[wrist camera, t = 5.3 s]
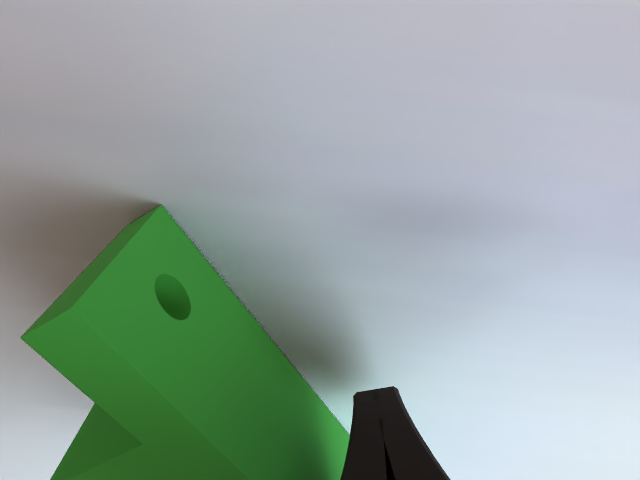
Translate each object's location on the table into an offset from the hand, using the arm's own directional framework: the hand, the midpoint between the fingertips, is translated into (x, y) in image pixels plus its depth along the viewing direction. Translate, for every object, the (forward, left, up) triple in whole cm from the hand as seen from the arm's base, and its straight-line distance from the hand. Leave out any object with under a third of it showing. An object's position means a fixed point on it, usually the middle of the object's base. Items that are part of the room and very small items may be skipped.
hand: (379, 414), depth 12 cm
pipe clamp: (+1, +4, -2) cm, 5 cm away
